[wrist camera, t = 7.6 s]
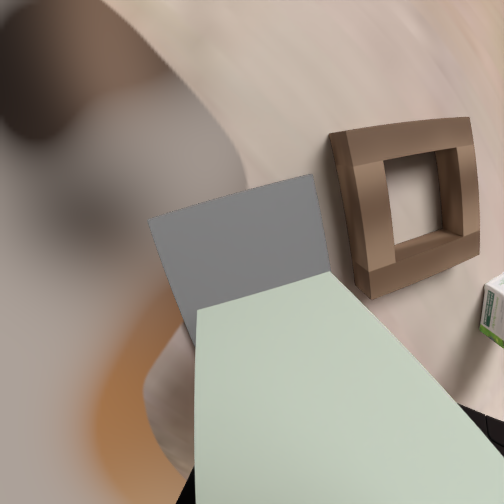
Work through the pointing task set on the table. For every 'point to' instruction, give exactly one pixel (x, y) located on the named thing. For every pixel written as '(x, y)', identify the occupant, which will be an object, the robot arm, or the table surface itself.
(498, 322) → the syrup box
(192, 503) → the robot arm
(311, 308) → the sage block
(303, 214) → the mat
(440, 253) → the pocket block
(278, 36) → the table surface
